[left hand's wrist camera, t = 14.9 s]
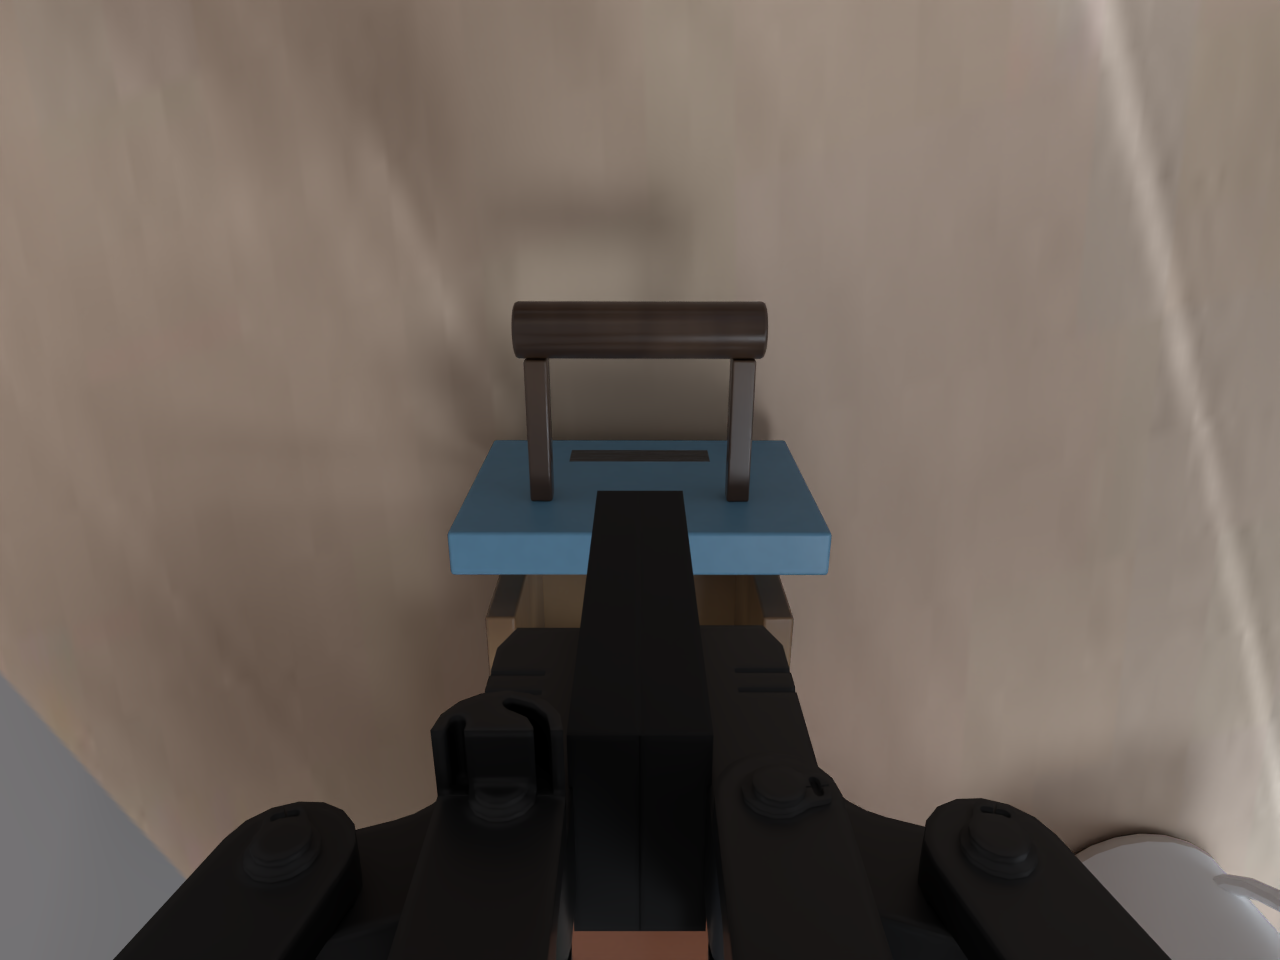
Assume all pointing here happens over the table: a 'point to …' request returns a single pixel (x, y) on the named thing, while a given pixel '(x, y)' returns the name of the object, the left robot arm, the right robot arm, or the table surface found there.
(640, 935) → the cabinet
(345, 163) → the table surface
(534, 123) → the table surface
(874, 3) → the table surface
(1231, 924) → the mug
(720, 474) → the drawer
